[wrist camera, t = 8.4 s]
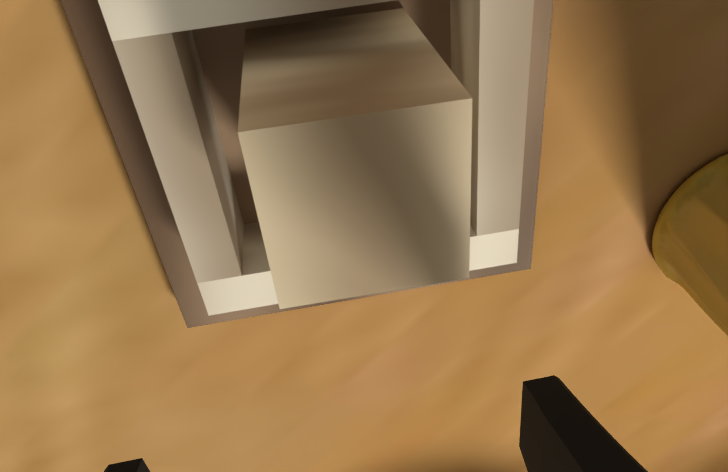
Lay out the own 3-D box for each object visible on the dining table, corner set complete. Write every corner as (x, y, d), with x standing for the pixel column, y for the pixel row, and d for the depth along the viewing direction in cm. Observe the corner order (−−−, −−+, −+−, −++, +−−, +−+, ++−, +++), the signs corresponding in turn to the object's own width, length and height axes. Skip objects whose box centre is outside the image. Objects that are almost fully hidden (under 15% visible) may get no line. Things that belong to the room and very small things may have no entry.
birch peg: (274, 169, 17) (279, 308, 12) (245, 29, 15) (237, 132, 10) (410, 149, 17) (469, 277, 12) (403, 7, 15) (472, 98, 10)
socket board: (190, 308, 21) (179, 385, 18) (10, -174, 13) (-64, -173, 10) (520, 251, 21) (560, 317, 19) (554, -240, 13) (635, -258, 10)
